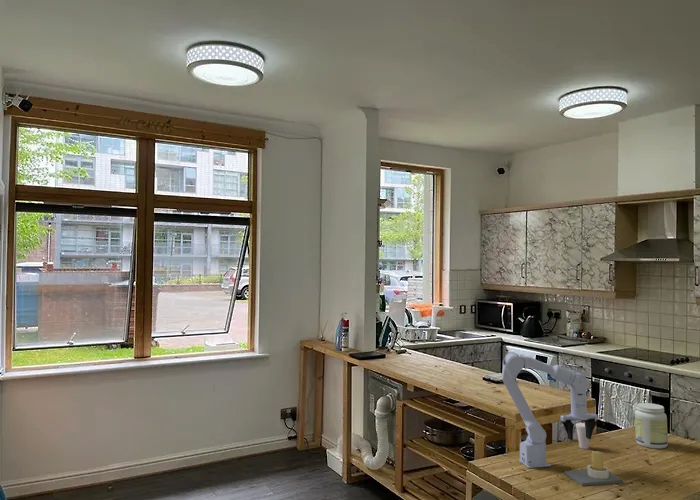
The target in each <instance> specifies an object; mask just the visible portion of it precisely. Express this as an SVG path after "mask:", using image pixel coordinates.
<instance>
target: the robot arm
mask: <svg viewBox="0 0 700 500" xmlns="http://www.w3.org/2000/svg"><path fill="white" fill-rule="evenodd" d="M523 368H524V369H525V370H527V369H531V368H532V369H534V370H535V369H536V370H538V371H541V372H543V373H546V374H549V376H550V377H551V378H552V379H553V380H555V381H558V382H561V383H562V384H566V385H570V413H568V414H561V415H559V416H560V421H561V423H562V425H563V428H564V429H565V431H566V435H567V438H568V440H570V441H573V439H574V427H575V424H574V423H573V422H572V421H583V423H585V428H586V438H588V439H590V440H591V439H592V435H593V431H594V430H595V427H596V426H597V424H598V414H595V413H588V409H587V408H588V407H587V405H588V403H587V387H588V386H589V381H588V379H587V377H586V376H585V375H584V374H582V373H580V372H579V371H577V370H576V369H570V368H567V367H565V365H563V364H554V365H550V364H547V363H545V362H543V361H541V360H537V359H536V358H533V357H531V356H528V355H524V354H521V353H516V352H513V351H511V352H508V353H507V354H505V356H504V358H503V360H502V372H501V380H502V383H503V384H504V386H505V388H506V390H507V391H508V393H509V395H510V396H509V397H511V399H512V401H513V404H514V405H515V407H516V409H517V411H518V413H519V414H520V416H521V417H520V418H522V420H523V423H524V424H525V432H526V433H527V436H526V440H523V441H521V442H520V443H519V460H518V461H519V462H520V463H521V464H522V465H524V466H526V468H528V469H530V468H531V469H533V468H545V467H547V468H548V467H551V466H552V465H551V464H550V463H549V462H547V441H546V439H547V432H546V430H545V429H544V428H543V427H542V425H541V423H539V421H537V418H536V417H535V415H534V413H533V411H532V409H531V407H530V405H529V404H528V402H527V400H526V397H525V396H524V395H523V392H522V390H521V388H520V386H519V384H518V383H517V381H516V380H517V377H518V374H520V373H521V371H522V370H523Z"/></svg>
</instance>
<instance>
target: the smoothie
mask: <svg viewBox="0 0 700 500" xmlns="http://www.w3.org/2000/svg"><path fill="white" fill-rule="evenodd" d="M575 427H576V433H577V439H578V446H579V448H580V449H584V450H588V449H590V443H591V442H590V441H591V439H588V438H586V428H585V423H584V422H577V423H575Z"/></svg>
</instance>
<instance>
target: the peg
mask: <svg viewBox="0 0 700 500" xmlns="http://www.w3.org/2000/svg"><path fill="white" fill-rule="evenodd" d="M590 454H591V465H592V469H593V470H596V471H604V466H605V464H604V463H605V462H604V453H603V452H602V451H599V450H592V451H591V452H590Z"/></svg>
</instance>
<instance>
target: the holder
mask: <svg viewBox="0 0 700 500" xmlns="http://www.w3.org/2000/svg"><path fill="white" fill-rule="evenodd" d="M586 467H587V469H579V470H566V471H564V475H566V476H567V477H568V478H570V479H571V480H573V481H574V482H576V483H577V484H579V485H580V486H582V487H586V486H595V485H608V484H609V485H610V484H622V482H623V483H624V479H622V478H621V477H619V476H617V475H616V474H614V473H612V472H610V470H609V468H608V467H607V466H605V465H604V471H596V470H593V469H592V464H588V465H587V466H586Z"/></svg>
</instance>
